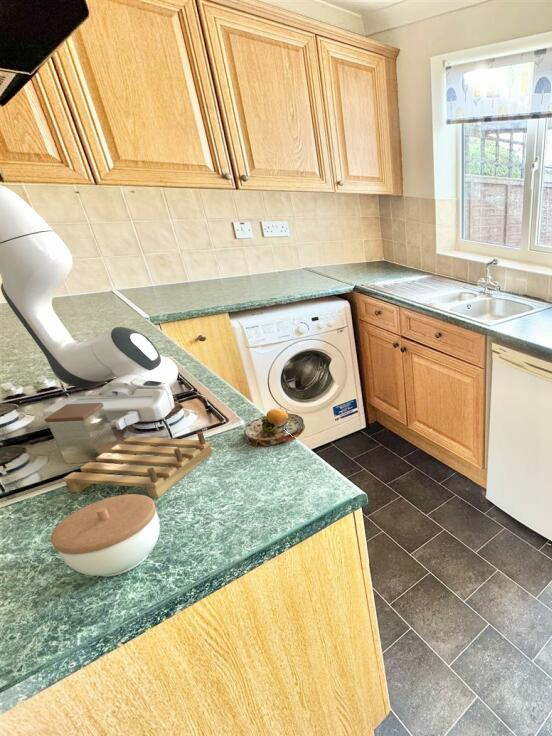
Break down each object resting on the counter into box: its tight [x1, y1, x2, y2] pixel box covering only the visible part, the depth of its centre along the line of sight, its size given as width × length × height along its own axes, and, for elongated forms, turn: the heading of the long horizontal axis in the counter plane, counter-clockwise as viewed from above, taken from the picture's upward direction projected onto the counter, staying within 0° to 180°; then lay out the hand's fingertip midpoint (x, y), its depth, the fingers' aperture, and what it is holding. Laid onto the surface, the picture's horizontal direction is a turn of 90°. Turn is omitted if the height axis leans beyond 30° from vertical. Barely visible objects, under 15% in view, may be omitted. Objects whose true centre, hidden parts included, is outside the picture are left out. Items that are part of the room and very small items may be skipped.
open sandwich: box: [243, 406, 306, 447], centre depth 93 cm, size 12×12×8 cm
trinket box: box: [50, 493, 161, 578], centre depth 59 cm, size 11×11×9 cm
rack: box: [63, 431, 213, 499], centre depth 78 cm, size 16×14×6 cm
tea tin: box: [44, 403, 119, 465], centre depth 81 cm, size 6×6×10 cm
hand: (86, 428), depth 82 cm, fingers open, 8 cm apart
